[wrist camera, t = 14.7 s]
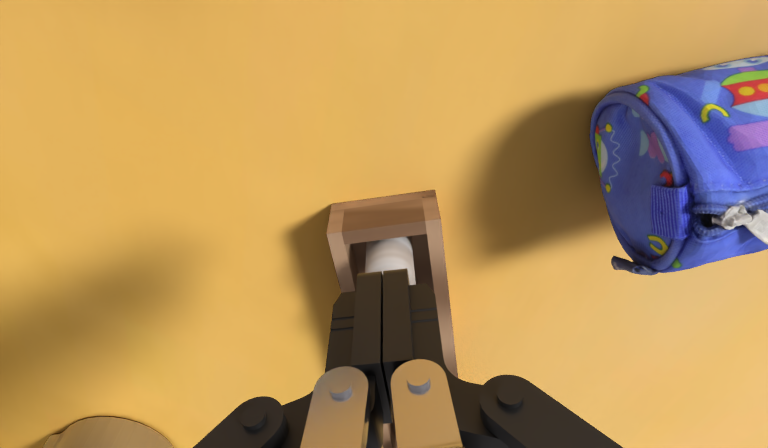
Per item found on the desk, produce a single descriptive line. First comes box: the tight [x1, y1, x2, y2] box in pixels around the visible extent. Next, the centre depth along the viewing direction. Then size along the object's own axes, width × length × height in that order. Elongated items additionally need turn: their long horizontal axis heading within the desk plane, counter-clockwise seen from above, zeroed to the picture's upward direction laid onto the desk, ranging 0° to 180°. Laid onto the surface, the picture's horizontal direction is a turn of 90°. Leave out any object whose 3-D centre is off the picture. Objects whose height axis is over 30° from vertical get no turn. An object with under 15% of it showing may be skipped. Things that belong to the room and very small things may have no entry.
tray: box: [327, 190, 458, 448], centre depth 33 cm, size 24×6×5 cm, turn 9°
